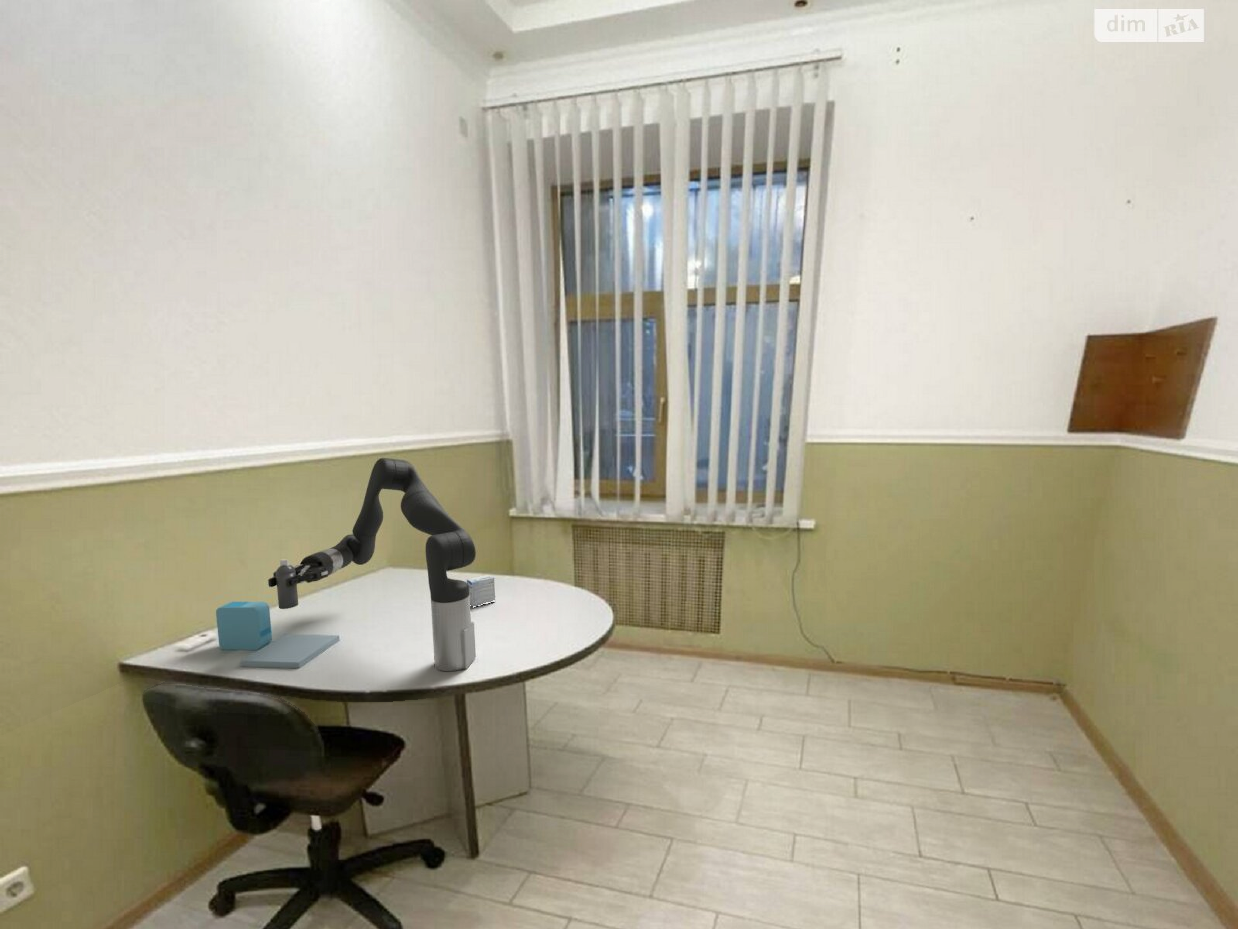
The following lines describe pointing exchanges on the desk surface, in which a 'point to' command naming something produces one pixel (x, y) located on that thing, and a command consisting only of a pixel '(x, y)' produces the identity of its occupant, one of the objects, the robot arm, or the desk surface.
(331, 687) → the desk surface
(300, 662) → the plate
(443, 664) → the robot arm
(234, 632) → the data package
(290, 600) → the dark grey bottle
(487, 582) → the medicine box
